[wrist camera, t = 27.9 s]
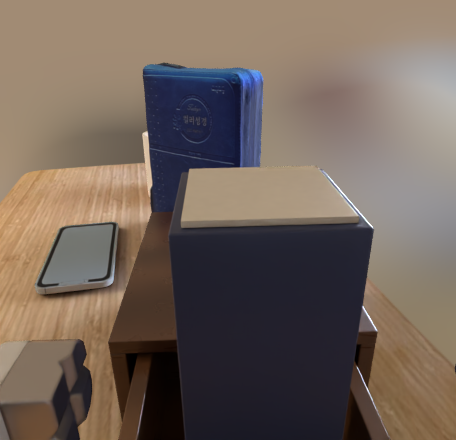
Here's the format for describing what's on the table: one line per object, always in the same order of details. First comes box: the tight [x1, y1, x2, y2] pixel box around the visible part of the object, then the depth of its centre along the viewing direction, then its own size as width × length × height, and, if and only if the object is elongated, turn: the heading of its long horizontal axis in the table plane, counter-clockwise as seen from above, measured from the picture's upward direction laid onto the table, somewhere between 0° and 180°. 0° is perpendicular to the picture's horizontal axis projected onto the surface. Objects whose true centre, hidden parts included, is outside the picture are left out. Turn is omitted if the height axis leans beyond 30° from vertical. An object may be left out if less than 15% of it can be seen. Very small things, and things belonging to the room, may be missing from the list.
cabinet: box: [108, 212, 377, 421], centre depth 30 cm, size 17×14×9 cm
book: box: [143, 63, 263, 212], centre depth 46 cm, size 14×5×20 cm, turn 56°
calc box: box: [168, 166, 374, 440], centre depth 15 cm, size 5×5×16 cm
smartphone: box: [35, 222, 119, 294], centre depth 45 cm, size 7×1×15 cm
